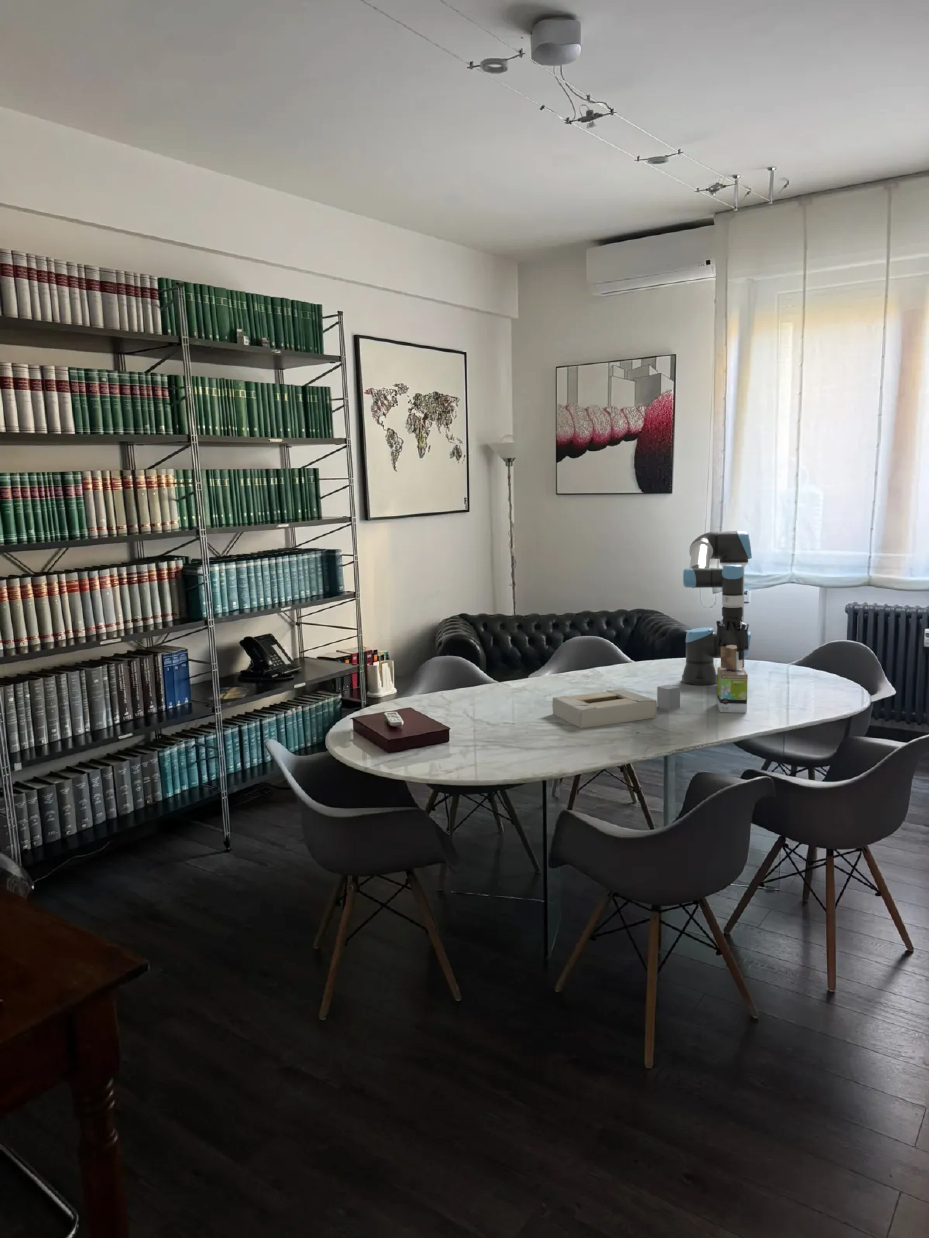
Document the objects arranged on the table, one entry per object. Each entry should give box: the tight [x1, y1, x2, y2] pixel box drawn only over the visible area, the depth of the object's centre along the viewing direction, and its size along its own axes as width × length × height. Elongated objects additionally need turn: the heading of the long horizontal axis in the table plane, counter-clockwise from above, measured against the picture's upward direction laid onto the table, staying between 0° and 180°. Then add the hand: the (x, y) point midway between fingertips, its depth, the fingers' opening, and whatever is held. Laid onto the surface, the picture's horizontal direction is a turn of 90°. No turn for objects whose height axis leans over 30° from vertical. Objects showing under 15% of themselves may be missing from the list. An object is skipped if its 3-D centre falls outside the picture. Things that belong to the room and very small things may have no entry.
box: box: [552, 688, 658, 729], centre depth 321 cm, size 23×8×32 cm
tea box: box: [716, 666, 749, 714], centre depth 324 cm, size 15×10×15 cm
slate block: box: [656, 684, 681, 710], centre depth 330 cm, size 6×6×8 cm
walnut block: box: [720, 645, 745, 670], centre depth 323 cm, size 6×6×8 cm
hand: (732, 666), depth 323 cm, fingers closed on walnut block, 6 cm apart
